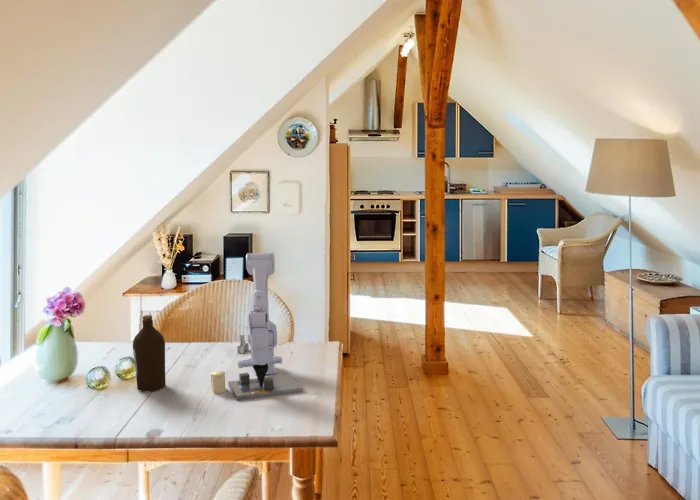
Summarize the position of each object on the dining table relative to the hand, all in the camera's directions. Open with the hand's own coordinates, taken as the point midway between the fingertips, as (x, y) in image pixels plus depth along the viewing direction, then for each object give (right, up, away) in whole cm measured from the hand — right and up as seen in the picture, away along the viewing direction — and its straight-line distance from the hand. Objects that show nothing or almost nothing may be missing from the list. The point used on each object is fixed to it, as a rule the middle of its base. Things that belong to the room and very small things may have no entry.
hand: (260, 386), depth 250 cm
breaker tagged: (+2, -1, +1) cm, 2 cm away
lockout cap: (-15, -2, +3) cm, 15 cm away
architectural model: (-8, +4, +45) cm, 46 cm away
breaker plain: (-6, 0, +6) cm, 9 cm away
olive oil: (-38, -2, +8) cm, 39 cm away
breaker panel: (+1, -2, +4) cm, 5 cm away
